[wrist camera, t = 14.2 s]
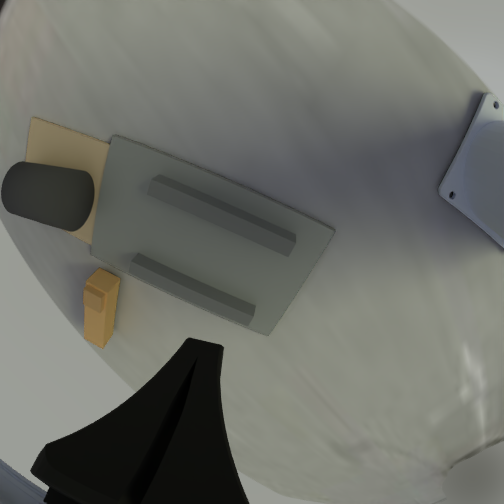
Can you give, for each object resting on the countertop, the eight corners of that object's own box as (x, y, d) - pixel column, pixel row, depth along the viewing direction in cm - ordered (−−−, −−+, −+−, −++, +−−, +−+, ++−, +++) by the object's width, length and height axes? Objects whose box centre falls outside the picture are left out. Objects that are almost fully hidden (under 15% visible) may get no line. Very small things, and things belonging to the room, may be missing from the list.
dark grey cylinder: (98, 169, 18) (62, 171, 14) (91, 225, 19) (56, 237, 15) (31, 159, 18) (-4, 161, 14) (27, 207, 19) (-7, 216, 15)
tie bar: (120, 278, 21) (103, 297, 19) (112, 334, 24) (99, 353, 22) (99, 267, 21) (81, 285, 19) (94, 324, 24) (81, 342, 22)
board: (334, 228, 18) (337, 240, 16) (268, 332, 22) (266, 347, 21) (35, 107, 16) (21, 110, 14) (24, 213, 20) (12, 220, 19)
